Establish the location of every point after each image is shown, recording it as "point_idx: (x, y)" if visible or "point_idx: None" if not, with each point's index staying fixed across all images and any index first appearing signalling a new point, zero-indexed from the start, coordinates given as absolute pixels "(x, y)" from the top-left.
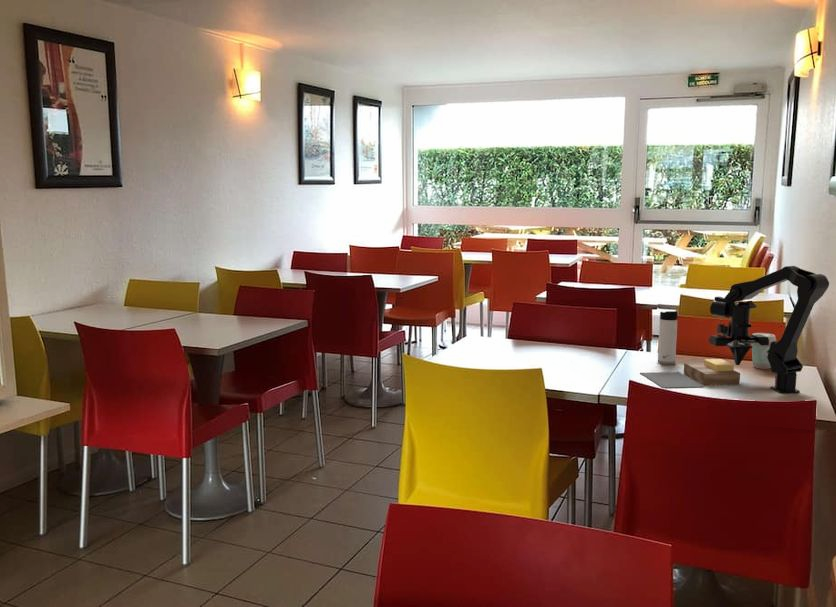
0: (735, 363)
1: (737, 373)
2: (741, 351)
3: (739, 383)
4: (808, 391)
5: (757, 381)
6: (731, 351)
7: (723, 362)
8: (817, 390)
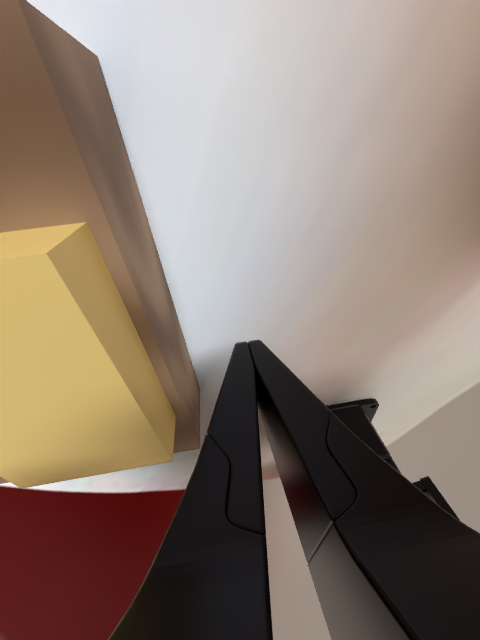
0: (233, 354)
1: (183, 450)
2: (310, 551)
3: (199, 396)
4: (399, 417)
5: (324, 326)
6: (180, 510)
7: (85, 420)
8: (438, 406)
